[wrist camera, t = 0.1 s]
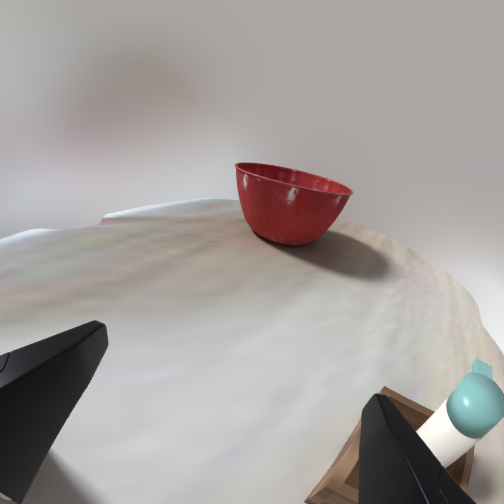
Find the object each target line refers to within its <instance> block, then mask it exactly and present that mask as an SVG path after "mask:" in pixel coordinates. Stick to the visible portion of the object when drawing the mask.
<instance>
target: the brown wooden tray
mask: <svg viewBox="0 0 504 504" xmlns="http://www.w3.org/2000/svg"><path fill="white" fill-rule="evenodd" d="M379 394H386V395H387V396H388V397H389V398H390V399H391V401H392V402H393V403H394V404H395V406H396V407H397V408H398V409H399V411H400V412H401V413H402V415H403V416H404V417H405V418H406V420H407V421H408V422H409V423H410V425H411V426H412V427H413V428H414V430H415V431H417V430H418V429H419V428H420V427H421V426H422V425H423V424H424V423H425V422H426V421H427V420H428V419H429V418H430V417H431V416H432V415H433V414H434V413H435V412H434V411H432V410H430V409H428V408H426V407H424V406H422V405H420V404H418V403H416V402H414V401H412V400H410V399H408V398H406V397H404V396H402V395H400V394H398V393H396V392H394V391H393V390H391V389H389V388H387V387H385V386H384V387H383V388H382V390H381V391H380V392H379ZM360 430H361V419H360V421H359V422H358V424H357V426H356V427H355V429H354V431H353V433H352V434H351V436H350V437H349V439H348V441H347V442H346V444H345V446H344V447H343V449H342V450H341V452H340V453H339V455H338V456H337V458H336V459H335V461H334V462H333V464H332V465H331V467H330V468H329V469H328V471H327V472H326V474H325V475H324V476H323V478H322V479H321V481H320V482H319V483H318V485H317V486H316V487H315V489H314V490H313V491H312V492H311V494H310V495H309V496H308V498H307V499H306V500H305V501H304V502H305V503H307V504H358V487H359V442H360ZM474 447H475V445H474V446H473V447H472V448H470V449H469V450H468V451H467V452H466V453H464V454H463V455H462V456H461V457H460V458H458V459H457V460H456V461H455V462H453V463H452V464H451V465H449V466H448V467H447V468H445V469H446V471H447V472H448V473H449V474H450V475H451V477H452V478H453V479H454V480H455V482H456V483H457V484H458V485H459V486H460V487H461V488H462V489H463V490H464V491H465V492H467V488H468V483H469V478H470V473H471V467H472V461H473V455H474Z"/></svg>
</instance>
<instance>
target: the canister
mask: <svg viewBox="0 0 504 504" xmlns="http://www.w3.org/2000/svg"><path fill="white" fill-rule="evenodd" d="M503 417H504V394H503V392H502V390H501V389H500V388H499V386H498V385H497V384H496V383H495V382H494V381H493V378H492V367H491V366H490V365H488V364H486V363H484V362H482V361H480V360H478V359H476V360H475V362H474V363H473V364H472V373H469V374H467V375H466V376H465V377H464V378H463V380H462V381H461V382H460V383H459V385H458V386H457V387H456V388H455V390H454V391H453V392H452V393H451V394H450V396H449V397H448V398H447V399H446V400H445V401H444V403H443V404H442V405H441V406H440V407H439V408H438V409H437V410H436V411H435V413H434V414H433V415H432V416H431V417H430V418H429V419H428V420H427V421H426V422H425V423H424V424H423V425H422V426H421V427H420V428H419V429H418V430H417V431H416V432H417V433H418V435H419V436H420V437H421V439H422V440H423V441H424V442H425V444H426V445H427V446H428V447H429V449H430V450H431V451H432V453H433V454H434V455H435V456H436V458H437V459H438V460H439V462H440V463H441V465H443V467H444V468H447V467H448V466H449V465H451V464H452V463H453V462H455V461H456V460H457V459H458V458H460V457H461V456H462V455H463V454H464V453H466V452H467V451H468V450H469V449H470V448H472V447H473V446H474V445H475V444H476V443H477V442H478V441H479V440H481V439H482V438H483V437H484V436H485V435H486V434H487V433H488V432H489V431H490V430H491V429H492V428H493V427H494V426H495V425H496V424H497V423H498V422H499V421H500V420H501V419H502V418H503Z"/></svg>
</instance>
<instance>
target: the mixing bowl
mask: <svg viewBox="0 0 504 504" xmlns="http://www.w3.org/2000/svg"><path fill="white" fill-rule="evenodd" d="M235 167H236V175H237V187H238V193H239V199H240V203H241V207H242V210H243V213H244V216H245V219H246V221H247V223H248V224H249V226H250V227H251V228H252V229H253V230H254V231H255V232H256V233H257V234H258V235H259V236H261V237H262V238H264V239H267V240H269V241H271V242H275V243H278V244H282V245H289V246H300V245H304V244H306V243H310V242H312V241H314V240H316V239H318V238H319V237H320V236H321V235H322V234H323V233H324V232H325V231H326V230H327V229H328V228H329V227H330V226H331V225H332V223H333V222H334V221H335V220H336V218H337V217H338V215H339V214H340V212H341V211H342V209H343V208H344V206H345V204H346V202H347V200H348V198H349V196H350V195H351V194H352V193H353V192H352V190H351V189H349V188H348V187H346V186H344V185H342V184H340V183H338V182H335V181H332V180H330V179H327V178H324V177H320V176H317V175H314V174H310V173H306V172H303V171H298V170H294V169H290V168H284V167H280V166H274V165H267V164H259V163H237V164H235Z"/></svg>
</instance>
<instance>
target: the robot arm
mask: <svg viewBox="0 0 504 504" xmlns="http://www.w3.org/2000/svg"><path fill="white" fill-rule="evenodd" d="M107 347H108V336H107V329H106V325H105V324H104V323H101V322H99V321H96V320H94V321H91V322H88V323H86V324H83V325H80V326H78V327H75V328H72V329H70V330H67V331H64V332H62V333H59V334H57V335H54V336H51V337H49V338H46V339H43V340H41V341H38V342H35V343H33V344H30V345H27V346H25V347H22V348H19V349H17V350H14V351H11V353H10V352H8V353H6V354H3V355H0V493H2V494H3V495H5V496H6V497H8V498H10V499H11V500H13V501H14V502H16V503H18V504H21V503H22V501H23V499H24V497H25V495H26V493H27V491H28V489H29V487H30V485H31V483H32V481H33V479H34V477H35V476H36V474H37V472H38V470H39V468H40V466H41V464H42V462H43V460H44V458H45V457H46V455H47V453H48V451H49V449H50V448H51V446H52V444H53V442H54V441H55V439H56V437H57V435H58V434H59V432H60V430H61V429H62V427H63V425H64V423H65V422H66V420H67V418H68V417H69V415H70V413H71V412H72V410H73V409H74V407H75V405H76V404H77V402H78V401H79V399H80V397H81V396H82V394H83V393H84V391H85V389H86V388H87V386H88V385H89V383H90V381H91V379H92V377H93V375H94V373H95V371H96V369H97V367H98V365H99V363H100V361H101V359H102V357H103V355H104V353H105V352H106V350H107ZM358 504H476V503H475V502H474V501H473V500H472V499H471V498H470V497H469V496H468V494H467V493H466V492H465V491H464V490H463V489H462V488H461V487H460V486H459V485H458V484H457V483H456V482H455V480H454V479H453V478H452V477H451V475H450V474H449V473H448V472H447V471H446V469H445V468H444V467H443V465H441V463H440V462H439V460H438V459H437V458H436V456H435V455H434V454H433V453H432V451H431V450H430V449H429V447H428V446H427V445H426V444H425V442H424V441H423V440H422V439H421V437H420V436H419V435H418V433H417V432H416V431H415V430H414V428H413V427H412V426H411V425H410V423H409V422H408V421H407V420H406V418H405V417H404V416H403V415H402V413H401V412H400V411H399V409H398V408H397V407H396V406H395V404H394V403H393V402H392V401H391V399H390V398H389V397H388V396H387V395H386V394H378V393H376V394H374V395H373V396H372V397H371V399H370V400H369V401H368V403H367V404H366V405H365V407H364V408H363V410H362V416H361V430H360V442H359V487H358Z"/></svg>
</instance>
